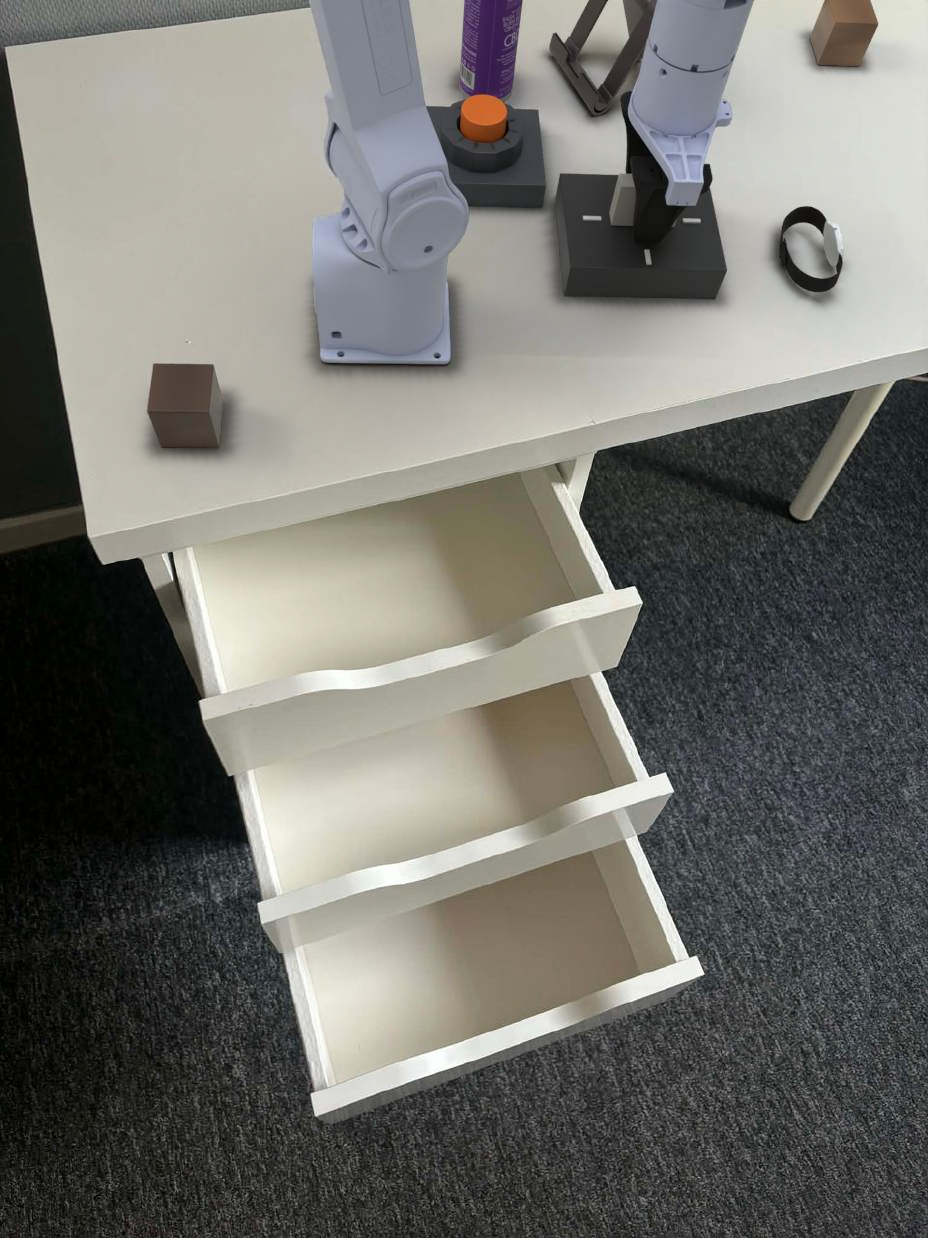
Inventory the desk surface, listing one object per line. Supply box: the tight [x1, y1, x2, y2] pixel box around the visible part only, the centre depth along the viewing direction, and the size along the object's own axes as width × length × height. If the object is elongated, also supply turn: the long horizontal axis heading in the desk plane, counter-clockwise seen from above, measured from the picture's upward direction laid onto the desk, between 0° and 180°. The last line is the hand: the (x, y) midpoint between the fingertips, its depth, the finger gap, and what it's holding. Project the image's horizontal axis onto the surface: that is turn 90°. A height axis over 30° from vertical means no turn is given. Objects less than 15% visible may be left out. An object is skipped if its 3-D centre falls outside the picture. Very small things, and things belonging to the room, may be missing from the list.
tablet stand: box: [548, 0, 657, 117], centre depth 81 cm, size 9×8×8 cm
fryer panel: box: [554, 172, 728, 300], centre depth 74 cm, size 12×10×3 cm
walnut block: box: [146, 362, 224, 449], centre depth 64 cm, size 4×4×4 cm
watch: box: [778, 205, 845, 293], centre depth 75 cm, size 8×5×4 cm, turn 8°
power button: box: [460, 95, 507, 143], centre depth 75 cm, size 4×4×2 cm
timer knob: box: [609, 173, 677, 227], centre depth 71 cm, size 5×1×4 cm, turn 92°
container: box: [458, 0, 524, 103], centre depth 76 cm, size 5×5×15 cm
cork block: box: [809, 0, 879, 67], centre depth 87 cm, size 4×4×4 cm
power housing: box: [426, 98, 547, 209], centre depth 77 cm, size 10×9×4 cm
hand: (642, 215), depth 73 cm, fingers open, 4 cm apart
